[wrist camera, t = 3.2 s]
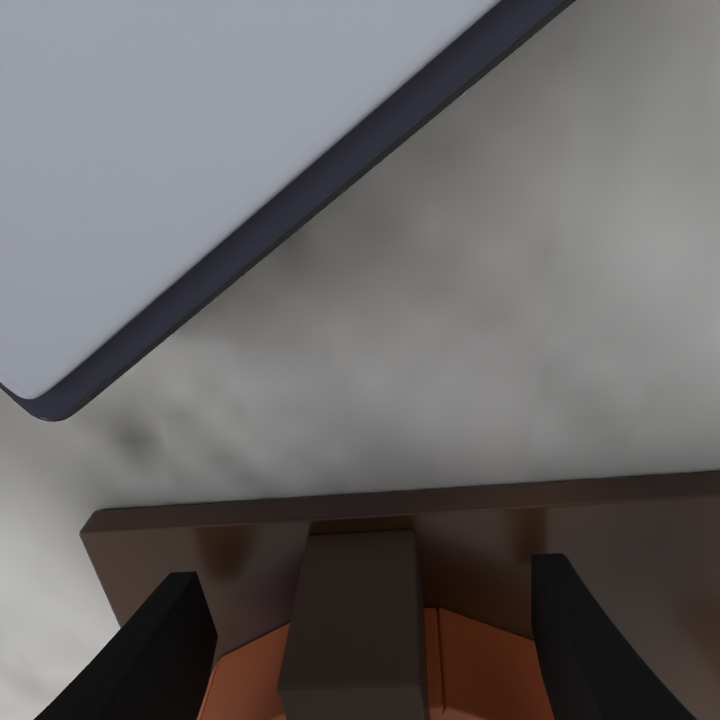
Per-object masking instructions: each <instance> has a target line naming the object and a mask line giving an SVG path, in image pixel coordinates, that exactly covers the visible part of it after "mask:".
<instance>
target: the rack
mask: <svg viewBox="0 0 720 720" xmlns="http://www.w3.org/2000/svg"><path fill="white" fill-rule="evenodd" d="M409 529H413V530H414V531H415V533H416V542H417V551H418V560H419V569H420V578H421V586H422V595H423V604H424V608H435V609H436V610H438V609H439V608H442V609H445V610H448V611H451V612H454V613H457V614H459V615H462V616H465V617H468V618H471V619H474V620H476V621H479V622H482V623H485V624H488V625H491V626H493V627H496V628H499V629H502V630H505V631H508V632H510V633H513V634H516V635H519V636H522V637H525V638H527V639H530V640H533V641H534V635H533V630H532V625H531V554H551V553H563V554H564V555H565V556H566V557H567V558H568V559H569V561H570V563H571V564H572V566H573V567H574V569H575V570H576V572H577V574H578V575H579V577H580V578H581V580H582V581H583V583H584V584H585V585H586V587H587V588H588V590H589V591H590V593H591V594H592V595H593V597H594V598H595V599H596V601H597V602H598V604H599V605H600V606H601V608H602V609H603V610H604V612H605V613H606V614H607V616H608V617H609V618H610V620H611V621H612V622H613V623H614V625H615V626H616V627H617V628H618V630H619V631H620V632H621V634H622V635H623V636H624V637H625V639H626V640H627V641H628V642H629V644H630V645H631V646H632V647H633V649H634V650H635V651H636V652H637V653H638V655H639V656H640V657H641V658H642V659H643V660H644V662H645V663H646V664H647V665H648V666H649V668H650V669H651V670H652V671H653V672H654V673H655V674H656V676H657V677H658V678H659V679H660V680H661V681H662V682H663V683H664V685H665V686H666V687H667V688H668V689H669V690H670V691H671V692H672V693H673V695H674V696H675V697H676V698H677V699H678V700H679V701H680V702H681V703H682V704H683V705H684V706H685V707H686V709H687V710H688V711H689V712H690V713H691V714H692V715H693V716H694V717H695V718H696V719H697V720H720V471H717V472H702V473H686V474H670V475H654V476H639V477H623V478H607V479H591V480H576V481H560V482H544V483H528V484H512V485H497V486H481V487H465V488H449V489H434V490H418V491H402V492H386V493H370V494H355V495H339V496H323V497H307V498H292V499H276V500H260V501H244V502H229V503H213V504H197V505H181V506H165V507H150V508H134V509H118V510H102V511H95V512H93V514H92V515H91V517H90V518H89V519H88V521H87V522H86V524H85V525H84V527H83V528H82V529H81V531H80V537H81V539H82V542H83V544H84V546H85V548H86V551H87V553H88V555H89V558H90V560H91V562H92V564H93V567H94V569H95V571H96V573H97V576H98V578H99V580H100V582H101V585H102V587H103V589H104V592H105V594H106V596H107V598H108V601H109V603H110V605H111V607H112V610H113V612H114V614H115V616H116V619H117V621H118V623H119V626H120V628H122V627H123V626H124V624H125V623H126V622H127V621H128V620H129V619H130V618H131V616H132V615H133V614H134V613H135V612H136V611H137V610H138V608H139V607H140V606H141V605H142V604H143V603H144V602H145V600H146V599H147V598H148V597H149V596H150V595H151V594H152V592H153V591H154V590H155V589H156V588H157V587H158V586H159V584H160V583H161V582H162V581H163V580H164V579H165V578H166V577H167V575H168V574H169V573H172V572H192V571H196V572H197V575H198V578H199V581H200V584H201V586H202V589H203V592H204V595H205V598H206V601H207V604H208V607H209V610H210V613H211V616H212V619H213V622H214V625H215V628H216V631H217V634H218V639H217V644H216V650H215V655H214V660H213V665H212V669H211V674H212V672H213V670H214V668H215V665H216V663H217V661H218V660H220V659H221V657H223V656H225V655H227V654H229V653H231V652H233V651H235V650H237V649H239V648H241V647H243V646H245V645H246V644H248V643H250V642H252V641H254V640H256V639H258V638H260V637H262V636H264V635H266V634H268V633H270V632H272V631H274V630H276V629H278V628H280V627H282V626H284V625H286V624H288V623H290V620H291V615H292V610H293V605H294V600H295V595H296V590H297V585H298V580H299V575H300V570H301V565H302V560H303V555H304V550H305V545H306V540H307V537H308V536H309V535H319V534H337V533H355V532H373V531H391V530H409ZM211 674H210V676H211Z"/></svg>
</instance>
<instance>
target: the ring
mask: <svg viewBox="0 0 720 720" xmlns="http://www.w3.org/2000/svg"><path fill="white" fill-rule="evenodd" d="M197 720H555V719H554V715H553V712H552V709H551V705H550V702H549V699H548V695H547V692H546V689H545V686H544V682H543V679H542V675H541V670H540V666H539V661H538V656H537V651H536V646H535V641H533V640H530V639H527V638H525V637H522V636H519V635H516V634H513V633H510V632H508V631H505V630H502V629H499V628H496V627H493V626H491V625H488V624H485V623H482V622H479V621H476V620H474V619H471V618H468V617H465V616H462V615H459V614H457V613H454V612H451V611H448V610H445V609H442V608H439V609H438V610H436V609H435V608H424V604H423V595H422V586H421V578H420V569H419V560H418V551H417V542H416V533H415V531H414V530H413V529H409V530H391V531H373V532H355V533H337V534H319V535H309V536H308V537H307V540H306V545H305V550H304V555H303V560H302V565H301V570H300V575H299V580H298V585H297V590H296V595H295V600H294V605H293V610H292V615H291V620H290V623H288V624H286V625H284V626H282V627H280V628H278V629H276V630H274V631H272V632H270V633H268V634H266V635H264V636H262V637H260V638H258V639H256V640H254V641H252V642H250V643H248V644H246V645H245V646H243V647H241V648H239V649H237V650H235V651H233V652H231V653H229V654H227V655H225V656H223V657H221V659H220V660H218V661H217V663H216V665H215V668H214V670H213V672H212V674H211V676H210V678H209V683H208V686H207V690H206V693H205V696H204V699H203V702H202V705H201V708H200V711H199V714H198V717H197Z"/></svg>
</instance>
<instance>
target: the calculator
mask: <svg viewBox="0 0 720 720" xmlns="http://www.w3.org/2000/svg"><path fill="white" fill-rule="evenodd" d="M574 1H575V0H0V388H1V389H2V390H3V391H5V392H6V393H7V394H8V395H9V396H10V397H11V398H12V399H13V400H14V401H15V402H16V403H18V404H19V405H20V406H21V407H22V408H24V409H25V410H26V411H27V412H28V413H30V414H31V415H33V416H35V417H36V418H38V419H41V420H44V421H53V422H55V421H62V420H65V419H67V418H69V417H71V416H72V415H73V414H75V413H76V412H77V411H79V410H80V409H81V408H83V407H84V406H85V405H86V404H88V403H89V402H90V401H91V400H92V399H94V398H95V397H96V396H97V395H99V394H100V393H101V392H102V391H103V390H105V389H106V388H107V387H108V386H109V385H111V384H112V383H113V382H114V381H116V380H117V379H118V378H119V377H120V376H122V375H123V374H124V373H125V372H126V371H128V370H129V369H130V368H131V367H132V366H134V365H135V364H136V363H137V362H139V361H140V360H141V359H142V358H143V357H145V356H146V355H147V354H148V353H149V352H151V351H152V350H153V349H154V348H155V347H157V346H158V345H159V344H160V343H162V342H163V341H164V340H165V339H166V338H168V337H169V336H170V335H171V334H172V333H174V332H175V331H176V330H177V329H178V328H180V327H181V326H182V325H183V324H185V323H186V322H187V321H188V320H189V319H191V318H192V317H193V316H194V315H195V314H197V313H198V312H199V311H200V310H201V309H203V308H204V307H205V306H206V305H207V304H209V303H210V302H211V301H212V300H214V299H215V298H216V297H217V296H218V295H220V294H221V293H222V292H223V291H224V290H226V289H227V288H228V287H229V286H230V285H232V284H233V283H234V282H235V281H237V280H238V279H239V278H240V277H241V276H243V275H244V274H245V273H246V272H247V271H249V270H250V269H251V268H252V267H253V266H255V265H256V264H257V263H258V262H260V261H261V260H262V259H263V258H264V257H266V256H267V255H268V254H269V253H270V252H272V251H273V250H274V249H275V248H276V247H278V246H279V245H280V244H281V243H283V242H284V241H285V240H286V239H287V238H289V237H290V236H291V235H292V234H293V233H295V232H296V231H297V230H298V229H299V228H301V227H302V226H303V225H304V224H306V223H307V222H308V221H309V220H310V219H312V218H313V217H314V216H315V215H316V214H318V213H319V212H320V211H321V210H322V209H324V208H325V207H326V206H327V205H328V204H330V203H331V202H332V201H333V200H335V199H336V198H337V197H338V196H339V195H341V194H342V193H343V192H344V191H345V190H347V189H348V188H349V187H350V186H351V185H353V184H354V183H355V182H356V181H358V180H359V179H360V178H361V177H362V176H364V175H365V174H366V173H367V172H368V171H370V170H371V169H372V168H373V167H374V166H376V165H377V164H378V163H379V162H381V161H382V160H383V159H384V158H385V157H387V156H388V155H389V154H390V153H391V152H393V151H394V150H395V149H396V148H397V147H399V146H400V145H401V144H402V143H404V142H405V141H406V140H407V139H408V138H410V137H411V136H412V135H413V134H414V133H416V132H417V131H418V130H419V129H420V128H422V127H423V126H424V125H425V124H427V123H428V122H429V121H430V120H431V119H433V118H434V117H435V116H436V115H437V114H439V113H440V112H441V111H442V110H443V109H445V108H446V107H447V106H448V105H449V104H451V103H452V102H453V101H454V100H456V99H457V98H458V97H459V96H460V95H462V94H463V93H464V92H465V91H466V90H468V89H469V88H470V87H471V86H472V85H474V84H475V83H476V82H477V81H479V80H480V79H481V78H482V77H483V76H485V75H486V74H487V73H488V72H489V71H491V70H492V69H493V68H494V67H495V66H497V65H498V64H499V63H500V62H502V61H503V60H504V59H505V58H506V57H508V56H509V55H510V54H511V53H512V52H514V51H515V50H516V49H517V48H518V47H520V46H521V45H522V44H523V43H525V42H526V41H527V40H528V39H529V38H531V37H532V36H533V35H534V34H535V33H537V32H538V31H539V30H540V29H541V28H543V27H544V26H545V25H546V24H548V23H549V22H550V21H551V20H552V19H554V18H555V17H556V16H557V15H558V14H560V13H561V12H562V11H563V10H564V9H566V8H567V7H568V6H569V5H571V4H572V3H573V2H574Z"/></svg>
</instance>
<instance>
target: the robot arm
mask: <svg viewBox="0 0 720 720" xmlns="http://www.w3.org/2000/svg"><path fill="white" fill-rule="evenodd" d="M531 625H532V630H533V635H534V641H535V646H536V651H537V656H538V661H539V666H540V670H541V675H542V679H543V682H544V686H545V689H546V692H547V695H548V699H549V702H550V705H551V709H552V712H553V715H554V719H555V720H697V719H696V718H695V717H694V716H693V715H692V714H691V713H690V712H689V711H688V710H687V709H686V707H685V706H684V705H683V704H682V703H681V702H680V701H679V700H678V699H677V698H676V697H675V696H674V695H673V693H672V692H671V691H670V690H669V689H668V688H667V687H666V686H665V685H664V683H663V682H662V681H661V680H660V679H659V678H658V677H657V676H656V674H655V673H654V672H653V671H652V670H651V669H650V668H649V666H648V665H647V664H646V663H645V662H644V660H643V659H642V658H641V657H640V656H639V655H638V653H637V652H636V651H635V650H634V649H633V647H632V646H631V645H630V644H629V642H628V641H627V640H626V639H625V637H624V636H623V635H622V634H621V632H620V631H619V630H618V628H617V627H616V626H615V625H614V623H613V622H612V621H611V620H610V618H609V617H608V616H607V614H606V613H605V612H604V610H603V609H602V608H601V606H600V605H599V604H598V602H597V601H596V599H595V598H594V597H593V595H592V594H591V593H590V591H589V590H588V588H587V587H586V585H585V584H584V583H583V581H582V580H581V578H580V577H579V575H578V574H577V572H576V570H575V569H574V567H573V566H572V564H571V563H570V561H569V559H568V558H567V557H566V556H565V555H564V554H563V553H551V554H531ZM217 639H218V634H217V631H216V628H215V625H214V622H213V619H212V616H211V613H210V610H209V607H208V604H207V601H206V598H205V595H204V592H203V589H202V586H201V584H200V581H199V578H198V575H197V572H196V571H192V572H172V573H169V574H168V575H167V577H166V578H165V579H164V580H163V581H162V582H161V583H160V584H159V586H158V587H157V588H156V589H155V590H154V591H153V592H152V594H151V595H150V596H149V597H148V598H147V599H146V600H145V602H144V603H143V604H142V605H141V606H140V607H139V608H138V610H137V611H136V612H135V613H134V614H133V615H132V616H131V618H130V619H129V620H128V621H127V622H126V623H125V624H124V626H123V627H122V628H121V629H120V630H119V631H118V632H117V634H116V635H115V636H114V637H113V638H112V639H111V640H110V641H109V642H108V644H107V645H106V646H105V647H104V648H103V649H102V650H101V651H100V652H99V654H98V655H97V656H96V657H95V658H94V659H93V660H92V661H91V662H90V663H89V664H88V665H87V666H86V668H85V669H84V670H83V671H82V672H81V673H80V674H79V675H78V676H77V677H76V678H75V679H74V680H73V681H72V682H71V683H70V684H69V685H68V686H67V687H66V688H65V689H64V690H63V691H62V692H61V693H60V694H59V695H58V697H57V698H56V699H55V700H54V701H53V702H52V703H51V704H50V705H48V706H47V707H46V708H45V709H44V710H43V711H42V712H41V713H40V714H39V715H38V716H37V717H36V718H35V719H34V720H197V717H198V714H199V711H200V708H201V705H202V702H203V699H204V696H205V693H206V690H207V686H208V683H209V678H210V674H211V669H212V665H213V660H214V655H215V650H216V644H217Z"/></svg>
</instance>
